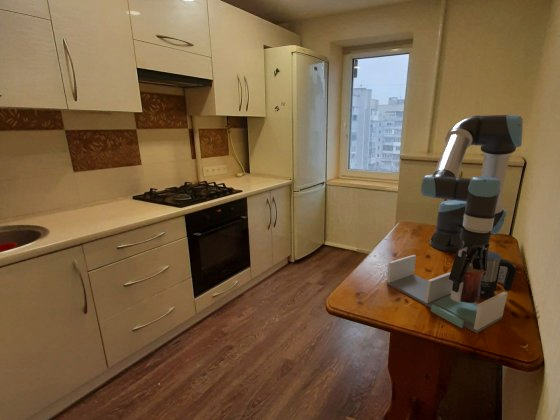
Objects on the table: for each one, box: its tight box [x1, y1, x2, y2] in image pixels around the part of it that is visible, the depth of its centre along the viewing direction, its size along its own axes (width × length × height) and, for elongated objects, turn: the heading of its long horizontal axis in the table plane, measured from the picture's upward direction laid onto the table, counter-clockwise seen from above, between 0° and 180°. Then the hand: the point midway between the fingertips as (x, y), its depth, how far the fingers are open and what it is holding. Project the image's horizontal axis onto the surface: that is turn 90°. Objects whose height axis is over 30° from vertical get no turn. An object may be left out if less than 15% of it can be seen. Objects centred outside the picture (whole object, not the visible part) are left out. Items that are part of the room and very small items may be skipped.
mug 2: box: [497, 263, 517, 285], centre depth 120 cm, size 10×7×7 cm, turn 136°
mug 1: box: [460, 265, 485, 304], centre depth 95 cm, size 12×9×10 cm
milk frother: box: [470, 250, 517, 299], centre depth 112 cm, size 14×16×15 cm
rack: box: [386, 254, 508, 334], centre depth 104 cm, size 16×33×9 cm, turn 30°
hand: (464, 295), depth 97 cm, fingers closed on mug 1, 9 cm apart
